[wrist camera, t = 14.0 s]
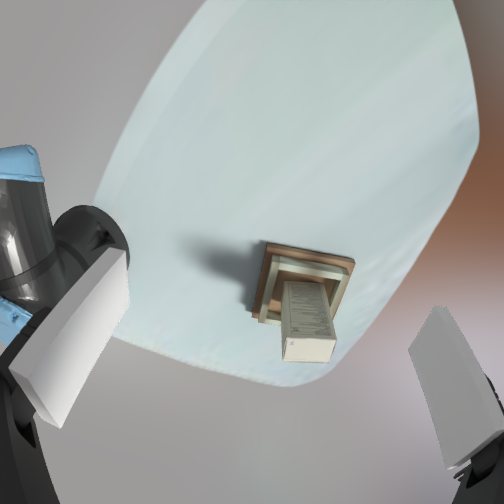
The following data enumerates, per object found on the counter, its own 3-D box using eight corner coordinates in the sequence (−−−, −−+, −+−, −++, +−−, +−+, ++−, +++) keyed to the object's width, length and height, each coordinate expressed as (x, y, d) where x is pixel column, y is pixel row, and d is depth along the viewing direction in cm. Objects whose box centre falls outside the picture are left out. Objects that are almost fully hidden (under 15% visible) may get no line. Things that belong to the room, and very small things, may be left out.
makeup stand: (252, 312, 48) (250, 325, 46) (267, 242, 42) (266, 253, 39) (327, 324, 49) (330, 337, 46) (353, 259, 42) (358, 270, 40)
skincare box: (280, 302, 45) (279, 362, 35) (284, 278, 43) (284, 337, 33) (320, 305, 45) (329, 365, 35) (326, 282, 43) (338, 340, 32)
